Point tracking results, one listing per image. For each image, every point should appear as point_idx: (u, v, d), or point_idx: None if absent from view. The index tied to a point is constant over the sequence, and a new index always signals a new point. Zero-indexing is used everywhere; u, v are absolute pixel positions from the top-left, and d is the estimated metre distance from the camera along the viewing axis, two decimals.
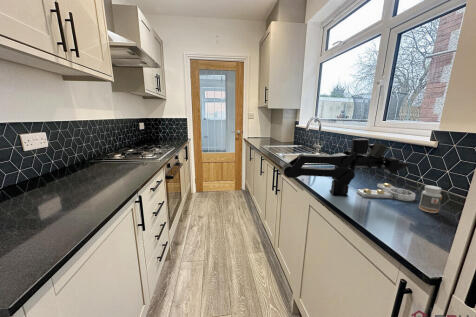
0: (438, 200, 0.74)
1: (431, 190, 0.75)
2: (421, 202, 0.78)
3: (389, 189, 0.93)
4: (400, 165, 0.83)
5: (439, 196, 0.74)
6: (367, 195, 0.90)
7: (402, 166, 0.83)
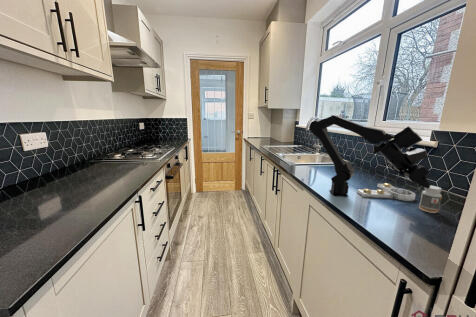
0: (438, 200, 0.74)
1: (431, 190, 0.75)
2: (421, 202, 0.78)
3: (389, 189, 0.93)
4: (422, 180, 0.72)
5: (439, 196, 0.74)
6: (367, 195, 0.90)
7: (422, 183, 0.72)
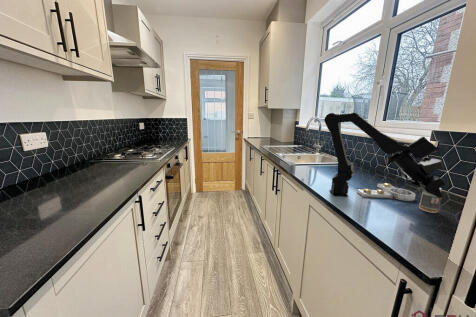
0: (438, 200, 0.74)
1: None
2: (421, 202, 0.78)
3: (389, 189, 0.93)
4: (435, 190, 0.73)
5: None
6: (367, 195, 0.90)
7: (435, 192, 0.73)
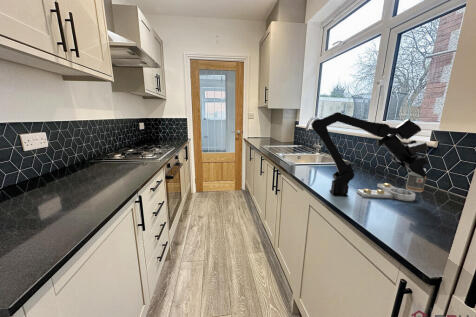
0: (422, 180, 0.80)
1: None
2: (407, 182, 0.84)
3: (389, 189, 0.93)
4: (419, 169, 0.78)
5: None
6: (367, 195, 0.90)
7: (419, 172, 0.79)
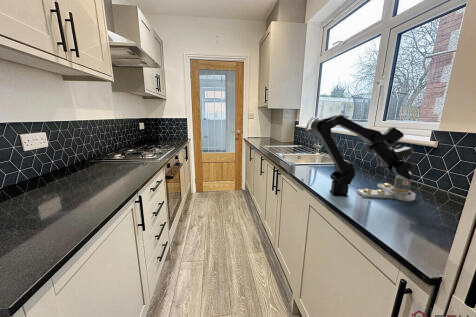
0: (408, 182, 0.87)
1: None
2: (395, 185, 0.91)
3: (389, 189, 0.93)
4: (405, 173, 0.85)
5: None
6: (367, 195, 0.90)
7: (405, 175, 0.85)
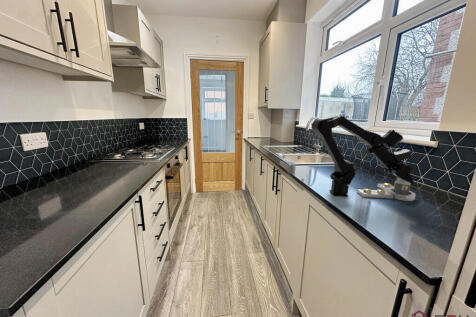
0: (407, 187, 0.87)
1: (401, 179, 0.88)
2: (394, 189, 0.91)
3: (389, 189, 0.93)
4: (407, 176, 0.84)
5: (408, 184, 0.87)
6: (367, 195, 0.90)
7: (407, 179, 0.84)
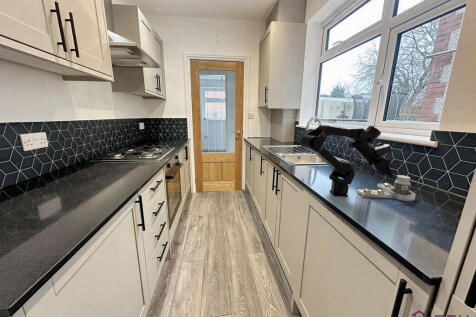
0: (407, 187, 0.87)
1: (401, 179, 0.88)
2: (394, 189, 0.91)
3: (389, 189, 0.93)
4: (386, 170, 0.86)
5: (408, 184, 0.87)
6: (367, 195, 0.90)
7: (387, 173, 0.86)
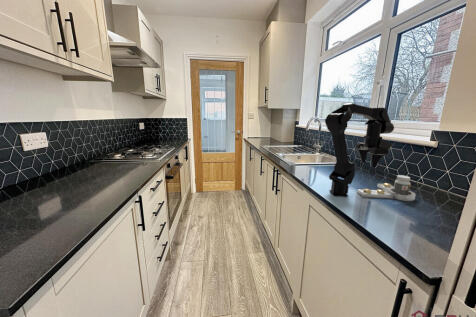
0: (407, 187, 0.87)
1: (402, 179, 0.88)
2: (394, 189, 0.91)
3: (389, 189, 0.93)
4: (376, 159, 0.91)
5: (408, 184, 0.87)
6: (367, 195, 0.90)
7: (374, 161, 0.91)
